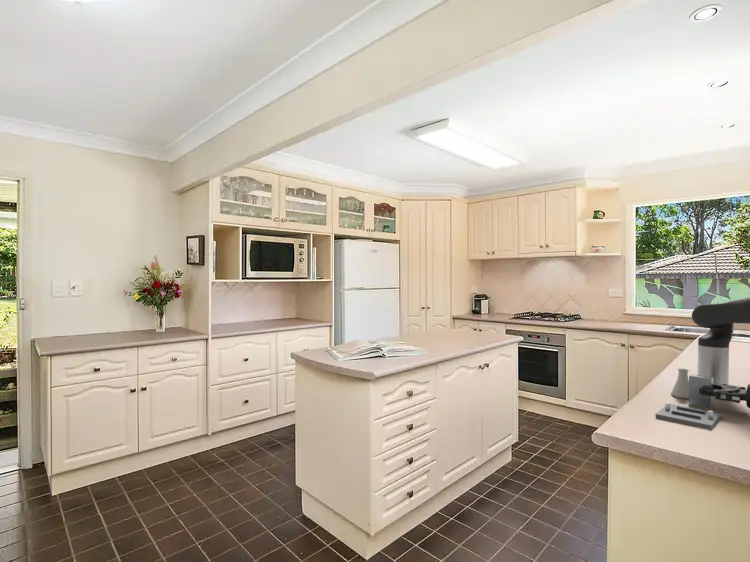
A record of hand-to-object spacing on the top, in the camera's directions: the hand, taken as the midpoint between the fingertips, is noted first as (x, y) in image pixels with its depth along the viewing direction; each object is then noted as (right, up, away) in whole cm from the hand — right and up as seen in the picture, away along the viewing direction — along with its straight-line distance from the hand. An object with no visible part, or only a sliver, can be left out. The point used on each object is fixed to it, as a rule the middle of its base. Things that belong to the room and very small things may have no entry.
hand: (702, 388), depth 142 cm
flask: (+2, -6, +12) cm, 14 cm away
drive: (0, -6, 0) cm, 6 cm away
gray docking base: (-13, -6, -11) cm, 18 cm away
